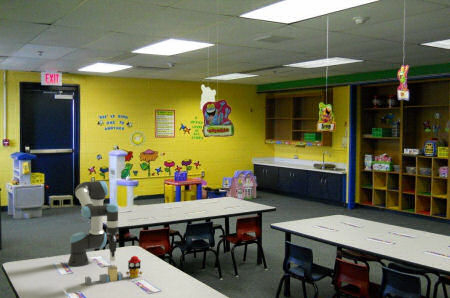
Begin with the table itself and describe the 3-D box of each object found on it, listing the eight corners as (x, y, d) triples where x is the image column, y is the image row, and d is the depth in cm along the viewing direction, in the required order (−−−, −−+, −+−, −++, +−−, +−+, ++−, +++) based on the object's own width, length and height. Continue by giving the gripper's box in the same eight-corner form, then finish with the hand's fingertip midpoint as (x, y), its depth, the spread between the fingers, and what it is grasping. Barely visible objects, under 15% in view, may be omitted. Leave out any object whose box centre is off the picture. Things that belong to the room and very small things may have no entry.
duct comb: (85, 284, 301) (85, 276, 301) (120, 278, 313) (120, 271, 313) (87, 287, 296) (87, 279, 295) (122, 281, 308) (122, 274, 308)
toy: (126, 279, 312) (126, 258, 311) (125, 275, 320) (125, 254, 320) (142, 278, 315) (142, 257, 314) (141, 274, 323) (141, 253, 323)
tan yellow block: (107, 279, 309) (107, 266, 308) (115, 278, 311) (115, 265, 311) (109, 281, 304) (109, 268, 304) (117, 280, 307) (117, 267, 306)
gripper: (104, 225, 310) (104, 259, 311) (109, 229, 299) (109, 264, 299) (114, 224, 314) (115, 257, 315) (120, 227, 302) (120, 262, 303)
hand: (112, 260), depth 307 cm, fingers closed
